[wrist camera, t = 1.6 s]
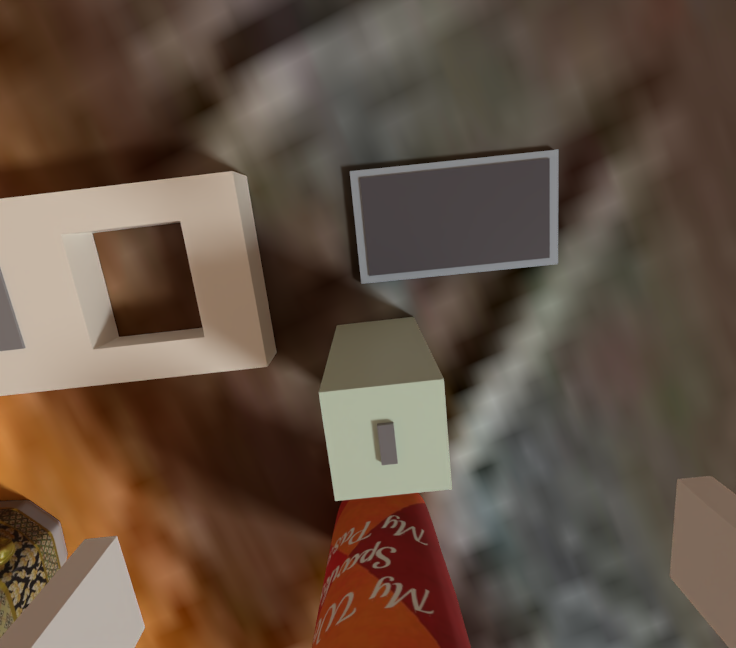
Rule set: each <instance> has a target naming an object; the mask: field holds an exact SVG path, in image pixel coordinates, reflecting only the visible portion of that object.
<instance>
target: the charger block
mask: <svg viewBox="0 0 736 648" xmlns="http://www.w3.org/2000/svg"><path fill="white" fill-rule="evenodd" d="M319 398H320V405H321V411H322V418H323V425H324V431H325V438H326V445H327V451H328V458H329V465H330V471H331V478H332V485H333V491H334V498H335V501H341V500H351V499H361V498H371V497H381V496H390V495H400V494H410V493H420V492H430V491H440V490H449V489H452V483H451V470H450V456H449V443H448V430H447V416H446V403H445V390H444V379H443V377H442V375H441V372H440V370H439V368H438V366H437V364H436V362H435V360H434V358H433V356H432V354H431V352H430V350H429V348H428V346H427V343H426V341H425V339H424V337H423V335H422V333H421V331H420V329H419V327H418V325H417V323H416V321H415V319H414V317H406V318H397V319H388V320H379V321H370V322H361V323H352V324H343V325H337V326H336V330H335V334H334V338H333V341H332V345H331V349H330V352H329V356H328V360H327V363H326V367H325V371H324V375H323V378H322V382H321V386H320V389H319Z"/></svg>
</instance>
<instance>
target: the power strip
mask: <svg viewBox="0 0 736 648" xmlns="http://www.w3.org/2000/svg"><path fill="white" fill-rule="evenodd" d="M173 223H181V228H182V232H183V237H184V242H185V246H186V251H187V256H188V261H189V265H190V270H191V275H192V280H193V284H194V289H195V294H196V299H197V303H198V308H199V313H200V318H201V322H202V327H203V328H195V329H186V330H177V331H168V332H159V333H150V334H141V335H132V336H123V337H119V334H118V330H117V327H116V323H115V319H114V315H113V311H112V307H111V303H110V300H109V296H108V292H107V288H106V284H105V280H104V277H103V273H102V269H101V265H100V261H99V257H98V254H97V250H96V246H95V242H94V238H93V234H92V233H96V232H105V231H113V230H122V229H130V228H139V227H147V226H156V225H164V224H173ZM276 353H277V351H276V346H275V340H274V334H273V328H272V322H271V316H270V311H269V305H268V299H267V293H266V287H265V281H264V276H263V270H262V264H261V258H260V252H259V246H258V240H257V235H256V229H255V223H254V217H253V211H252V205H251V200H250V194H249V188H248V182H247V176H245V175H242V174H240V173H237V172H234V171H228V172H220V173H212V174H203V175H195V176H187V177H178V178H170V179H161V180H153V181H145V182H136V183H128V184H120V185H111V186H103V187H94V188H86V189H78V190H69V191H61V192H53V193H44V194H36V195H27V196H19V197H11V198H2V199H0V396H4V395H14V394H23V393H32V392H41V391H50V390H59V389H68V388H78V387H87V386H96V385H105V384H114V383H123V382H133V381H142V380H151V379H160V378H169V377H178V376H187V375H197V374H206V373H215V372H224V371H233V370H242V369H251V368H261V367H268V365H269V364H270V362H271V361H272V359H273V357H274V356H275V354H276Z"/></svg>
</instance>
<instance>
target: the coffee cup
mask: <svg viewBox="0 0 736 648" xmlns="http://www.w3.org/2000/svg"><path fill="white" fill-rule="evenodd" d="M312 648H471V646H470V643H469V639H468V636H467V632H466V629H465V625H464V622H463V618H462V615H461V611H460V608H459V604H458V601H457V597H456V594H455V591H454V588H453V585H452V582H451V579H450V576H449V573H448V570H447V567H446V564H445V561H444V558H443V555H442V552H441V549H440V546H439V542H438V539H437V536H436V533H435V530H434V526H433V523H432V521H431V518H430V515H429V512H428V509H427V507H426V504H425V502H424V500H423V498H422V497H421V495H420V494H419V493H410V494H400V495H390V496H381V497H371V498H361V499H351V500H342V502H341V504H340V507H339V510H338V514H337V517H336V522H335V527H334V532H333V537H332V542H331V547H330V552H329V557H328V563H327V568H326V573H325V579H324V584H323V589H322V595H321V600H320V606H319V611H318V617H317V622H316V627H315V633H314V638H313V644H312Z"/></svg>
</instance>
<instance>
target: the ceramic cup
mask: <svg viewBox="0 0 736 648" xmlns="http://www.w3.org/2000/svg"><path fill="white" fill-rule="evenodd" d="M66 560H67V549H66V545H65V541H64V536H63V532H62V528H61V524H60V521H59V520H57V519H56V518H54V517H53V516H51V515H50V514H48V513H47V512H46V511H44V510H43V509H41V508H40V507H38V506H37V505H35V504H34V503H33V502H31V501H29V500H9V501H0V638H1V637H2V636H3V635H4V633H5V632H6V631H7V630H8V629H9V628H10V626H11V625H12V624H13V623H14V622H15V621H16V619H17V618H18V617H19V616H20V615H21V614H22V612H23V611H24V610H25V609H26V608H27V607H28V605H29V604H30V603H31V602H32V601H33V600H34V598H35V597H36V596H37V595H38V594H39V593H40V591H41V590H42V589H43V588H44V587H45V586H46V584H47V583H48V582H49V581H50V580H51V579H52V577H53V576H54V575H55V574H56V573H57V572H58V570H59V569H60V568H61V567H62V566H63V565H64V563H65V562H66Z"/></svg>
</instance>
